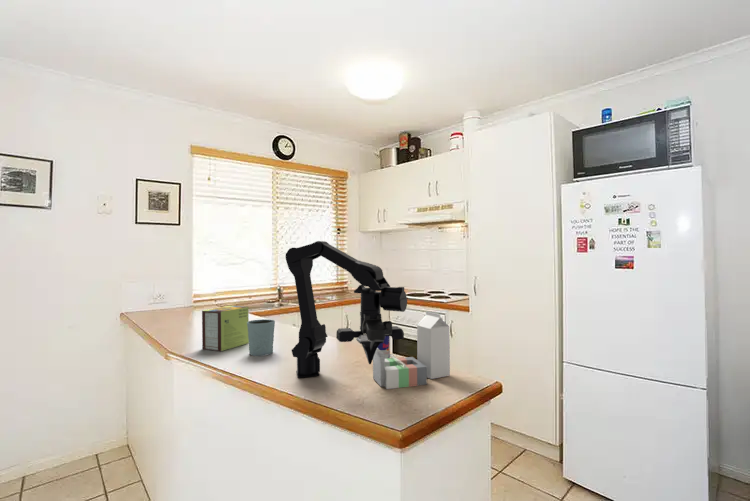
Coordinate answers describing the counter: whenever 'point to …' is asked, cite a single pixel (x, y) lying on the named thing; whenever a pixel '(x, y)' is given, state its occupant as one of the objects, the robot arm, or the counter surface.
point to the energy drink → (385, 347)
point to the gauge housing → (404, 373)
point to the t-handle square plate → (382, 366)
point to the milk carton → (434, 345)
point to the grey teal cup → (261, 337)
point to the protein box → (224, 327)
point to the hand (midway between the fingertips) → (369, 364)
